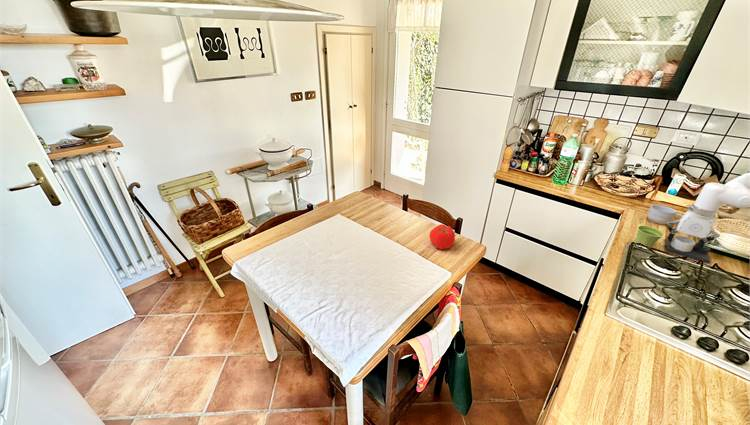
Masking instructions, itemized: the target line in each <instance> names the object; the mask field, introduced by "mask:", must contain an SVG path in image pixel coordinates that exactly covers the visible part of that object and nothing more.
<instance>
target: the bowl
mask: <svg viewBox="0 0 750 425" xmlns="http://www.w3.org/2000/svg"><path fill="white" fill-rule="evenodd" d="M696 243H697V241H696V240H694V239H692V238H690V237H688V236H684V235H678V234H677V235H675V236H674V237H673V240H672V242H671V246H672V247H673V248H674V249H676V250H679V251H682V252H690V251H692V249H693V247H694V246H695V244H696Z"/></svg>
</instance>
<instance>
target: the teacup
mask: <svg viewBox="0 0 750 425" xmlns="http://www.w3.org/2000/svg"><path fill="white" fill-rule="evenodd" d="M683 215H684V214H682V213H678V211H677V210H676V209H674V208H672V207H670V206H666V205H661V204H651V205H650V207H649V209H648V211H647V214H646V217H647V218H648V220H649V221H650V222H652V223H654V224H657V225H667V222H672V221H679V220H680V219H681V218H682V216H683ZM677 216H678V217H680V218H679V219H675V218H676V217H677Z"/></svg>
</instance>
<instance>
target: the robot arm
mask: <svg viewBox="0 0 750 425" xmlns="http://www.w3.org/2000/svg"><path fill="white" fill-rule="evenodd" d="M722 205H726V206H730V207H732V208H737V209H749V208H750V172H746V173H744V174H741V175H739V176H737V177H735V178H732V179H731V180H729V181H727V182H726V183H724V184H723V183H719V182H710V181H709V182H707V183H705V184H704V186H702V188H701V190H700V192H699V194H698V196H697V198H696V199H695V200H694V203H692V205H691V204H690V205H687V206H686V209H687V211H685V213H684V214H682V215H683V216H682V218H681V217H680V218H679V219H680V220H679V219H678V220H679V221H672V222H667V224H666V226H667V227H666V228H667V230H668V231H669V234H668V236H667V237H666V238H667V239H668V240H669V242H671V241H672V239H673V238H674V237H675V236H676V234H677V233H679V234H682V235H683V234H684V235H685V236H691V237H694V238H699V241H698V242H697V243H698V244H697V245H696V247H697V249H700V248H702V247H703V246H704V244H706V243H708V242H711V241H714V240H715V239H718V238H720V237H721V236H720V234H719V233H718V232H717V231H715V230H714V229H713V227H714V226H715V223H716V220H717V217H716V214H717V212H718V211H719V209H720V208H721V206H722ZM672 226H675V227H672ZM710 234H711V235H710Z"/></svg>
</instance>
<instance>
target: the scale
mask: <svg viewBox="0 0 750 425" xmlns="http://www.w3.org/2000/svg"><path fill="white" fill-rule="evenodd" d="M664 240H665V248H666V252H667V253H671V254H674V255H678V256H682V257H685V258H688V259H692V260H695V261H699V260H700V259H703V262H702V263H706V264H710V262H711V259H710V256H709V253H710V251H711V250H712V249H711V247H709V246H708V245H707V247H706V248H705V249H704V248H700V249H697V247H696V245H697V244H698V242H696V244H695V246H694V247H693V249H692V251H690V252H682V251H679V250H676V249H674V248H673V247H672V246H671V242H672V241H671V242H669V240H668V239H667V237H666V238H665V239H664ZM672 240H673V239H672Z"/></svg>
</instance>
